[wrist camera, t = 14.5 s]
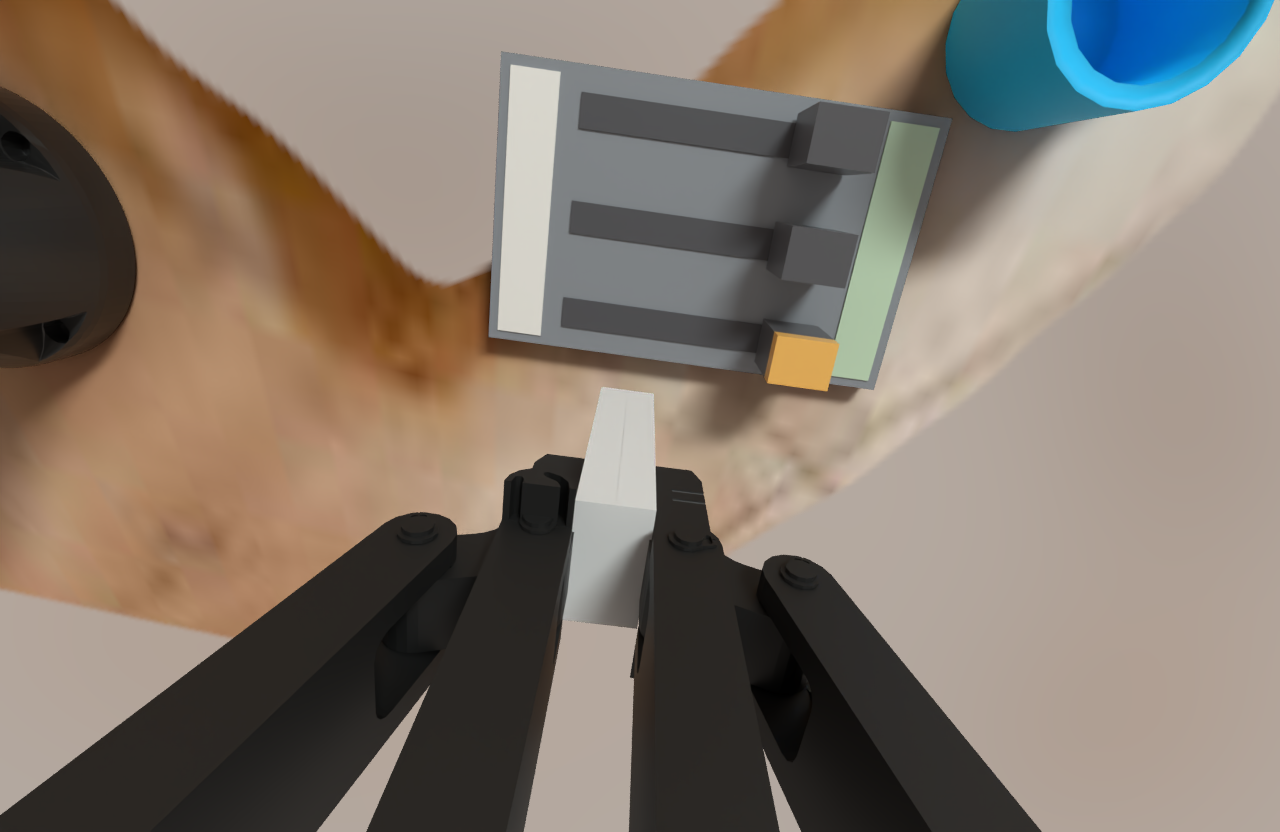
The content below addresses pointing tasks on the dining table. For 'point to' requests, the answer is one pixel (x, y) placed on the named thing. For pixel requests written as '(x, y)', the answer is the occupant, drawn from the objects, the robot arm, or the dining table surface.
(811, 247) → the breaker
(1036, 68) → the mug
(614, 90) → the panel
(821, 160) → the block
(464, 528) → the dining table surface
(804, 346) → the breaker
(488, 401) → the dining table surface
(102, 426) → the dining table surface
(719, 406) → the dining table surface
